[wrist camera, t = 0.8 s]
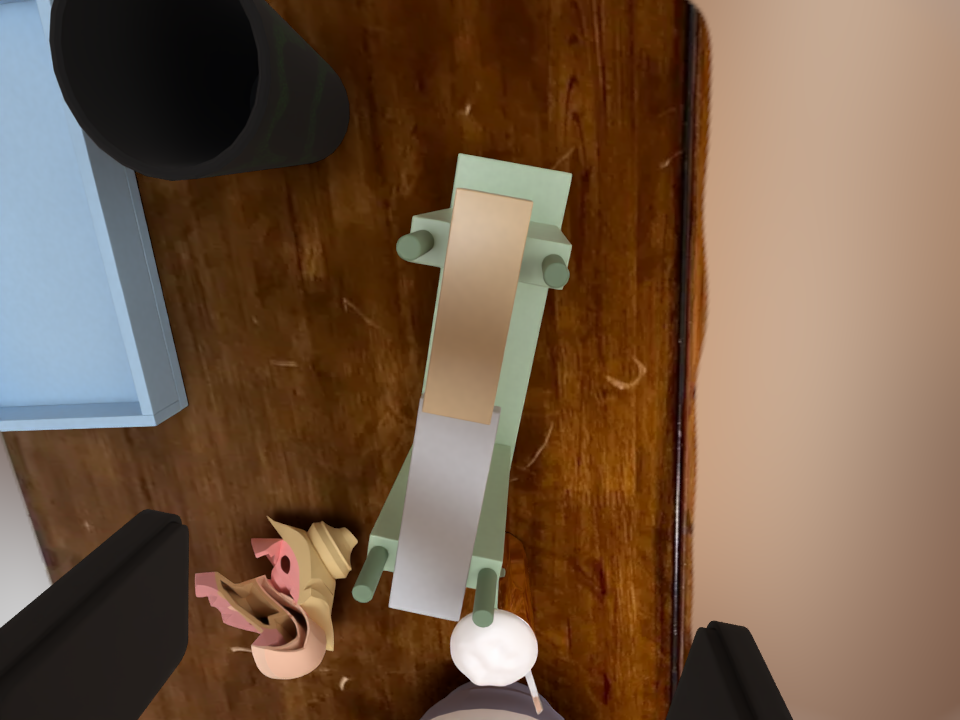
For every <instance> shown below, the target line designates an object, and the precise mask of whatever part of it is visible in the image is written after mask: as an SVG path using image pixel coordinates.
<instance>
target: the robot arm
mask: <svg viewBox="0 0 960 720" xmlns="http://www.w3.org/2000/svg"><path fill="white" fill-rule="evenodd" d="M188 567H189V531H188V527H187V526H186V525H182V522H181V519H180V517H179V516H178V515H175V514H170V513H165V512H160V511H155V510H149V509H147V510H143V511H142V512H140V513H139V514H137V515H136V516H135V517H134V518H133V519H131V520H130V521H129V522H128V523H126V524H125V525H124V526H123V527H122V528H120V529H119V530H118V531H117V532H116V533H114V534H113V535H112V536H111V537H110V538H108V539H107V540H106V541H105V542H104V543H102V544H101V545H100V546H99V547H98V548H96V549H95V550H94V551H93V552H91V553H90V554H89V555H88V556H87V557H85V558H84V559H83V560H82V561H81V562H79V563H78V564H77V565H76V566H75V567H73V568H72V569H71V570H70V571H69V572H67V573H66V574H65V575H64V576H63V577H61V578H60V579H59V580H58V581H56V582H55V583H54V584H53V585H52V586H50V587H49V588H48V589H47V590H46V591H44V592H43V593H42V594H41V595H40V596H38V597H37V598H36V599H35V600H34V601H32V602H31V603H30V604H29V605H28V606H26V607H25V608H24V609H23V610H21V611H20V612H19V613H18V614H17V615H15V616H14V617H13V618H12V619H11V620H10V621H8V622H7V623H6V624H5V625H3V626H2V627H1V628H0V720H138V718H139V717H140V716H141V714H142V713H143V712H144V710H145V709H146V708H147V706H148V705H149V703H150V702H151V701H152V699H153V698H154V697H155V695H156V694H157V693H158V691H159V690H160V689H161V687H162V686H163V685H164V683H165V682H166V681H167V679H168V678H169V677H170V675H171V674H172V672H173V671H174V670H175V668H176V667H177V666H178V664H179V663H180V661H181V660H182V658H183V656H184V654H185V651H186V648H187V644H188ZM666 720H793V719H792V717H791V714H790V713H789V710H788V708H787V707H786V704H785V702H784V700H783V698H782V696H781V694H780V692H779V690H778V688H777V686H776V684H775V682H774V680H773V678H772V676H771V674H770V671H769V670H768V668H767V665H766V663H765V661H764V659H763V657H762V655H761V653H760V651H759V649H758V647H757V645H756V643H755V641H754V639H753V637H752V635H751V633H750V631H749V630H748V629H747V628H746V627H743V626H738V625H733V624H728V623H723V622H718V621H711V622H710V623H709V624H708V626H707V628H703V627H700V628H699V629H698V630H697V632H696V635H695V637H694V640H693V643H692V646H691V649H690V652H689V655H688V658H687V660H686V663H685V666H684V669H683V672H682V675H681V678H680V681H679V683H678V686H677V689H676V692H675V695H674V698H673V701H672V704H671V706H670V709H669V712H668V715H667V718H666Z"/></svg>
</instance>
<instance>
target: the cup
mask: <svg viewBox="0 0 960 720" xmlns="http://www.w3.org/2000/svg"><path fill="white" fill-rule="evenodd" d="M49 44H50V50H51V57H52V63H53V70H54V73H55V76H56V79H57V82H58V84H59V87H60V90H61V93H62V95H63V98H64V101H65V102H66V104H67V106H68V107H69V109H70V111H71V112H72V114H73V116H74V117H75V119H76V121H77V122H78V124H79V126H80V127H81V128H82V129H83V130H84V132H85V133H86V134H87V135H88V136H89V137H90V138H91V139H92V141H93V142H94V143H95V144H96V145H97V146H98V147H99V148H100V149H101V150H102V151H104V152H105V153H106V154H108V155H109V156H110V157H112V158H113V159H115V160H116V161H117V162H119V163H120V164H121V165H123V166H125V167H127V168H130V169H132V170H134V171H136V172H139V173H141V174H143V175H145V176H149V177H154V178H160V179H165V180H171V181H175V180H187V179H198V178H206V177H213V176H221V175H228V174H235V173H243V172H250V171H258V170H265V169H273V168H280V167H287V166H295V165H302V164H310V163H314V162H317V161H320V160H323V159H325V158H326V157H327V156H329V155H330V154H332V153H333V152H334V151H335V150H336V148H337V147H338V146H339V145H340V144H341V142H342V140H343V138H344V136H345V134H346V132H347V127H348V123H349V101H348V97H347V93H346V90H345V88H344V86H343V84H342V81H341V79H340V78H339V76H338V75H337V74H336V73H335V71H334V70H333V69H332V67H331V66H330V65H329V64H328V63H327V62H326V61H325V60H324V59H323V58H322V57H321V56H320V55H319V54H318V53H317V52H316V51H315V50H314V49H313V48H312V47H311V46H310V45H309V44H308V43H307V42H306V41H305V40H304V39H303V38H302V37H301V36H300V35H299V34H298V33H297V32H296V31H295V30H294V29H293V28H292V27H291V26H290V25H289V24H288V23H287V22H286V21H285V20H284V19H283V18H282V17H281V16H280V15H279V14H278V13H277V12H276V11H275V10H274V9H273V8H272V7H271V6H270V5H269V4H268V3H267V2H266V1H265V0H54V1H53V4H52V8H51V13H50V32H49Z"/></svg>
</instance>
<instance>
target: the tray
mask: <svg viewBox="0 0 960 720" xmlns="http://www.w3.org/2000/svg"><path fill="white" fill-rule="evenodd" d="M53 1H54V0H0V431H26V430H55V429H84V428H112V427H141V426H157V425H158V424H160V423H162V422H163V421H165V420H166V419H168V418H170V417H171V416H173V415H174V414H176V413H178V412H179V411H181V410H182V409H184V408H185V407H187V406H188V402H187V397H186V393H185V389H184V384H183V380H182V376H181V371H180V367H179V363H178V358H177V354H176V350H175V345H174V341H173V337H172V332H171V328H170V324H169V319H168V315H167V311H166V307H165V302H164V298H163V294H162V289H161V285H160V281H159V276H158V272H157V268H156V263H155V259H154V255H153V250H152V246H151V242H150V237H149V233H148V229H147V224H146V220H145V216H144V211H143V207H142V203H141V198H140V194H139V190H138V185H137V181H136V177H135V172H134V170H132V169H130V168H127V167H125V166H123V165H121V164H120V163H119V162H117V161H116V160H115V159H113V158H112V157H110V156H109V155H108V154H106V153H105V152H104V151H102V150H101V149H100V148H99V147H98V146H97V145H96V144H95V143H94V142H93V141H92V139H91V138H90V137H89V136H88V135H87V134H86V133H85V132H84V130H83V129H82V128H81V127H80V126H79V124H78V122H77V121H76V119H75V117H74V116H73V114H72V112H71V111H70V109H69V107H68V106H67V104H66V102H65V101H64V98H63V95H62V93H61V90H60V87H59V84H58V82H57V79H56V76H55V73H54V70H53V63H52V57H51V50H50V44H49V32H50V13H51V8H52V4H53Z"/></svg>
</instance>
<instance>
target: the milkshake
mask: <svg viewBox="0 0 960 720" xmlns="http://www.w3.org/2000/svg"><path fill="white" fill-rule="evenodd" d="M475 592H476V589H473V588H468V587H467V588H466V591H465V595H464V599H463V604H462V609H461V614H460V619H459V621H458V622H457V621H456V623H455V626H454V629H453V632H452V636H451V641H450V650H451V656H452V659H453V662H454V664H455V665H456V667H457V668H458V669H459V670H460V671H461V672H462V673H463V674H464V675H465V676H466V677H467V678H469V679H470V680H471V681H472V682H473V683H474V684H476V685H479V686H487V685H492V686H506V685H509V684H512V683H514V682H516V681H517V680H519V679H521V678H522V677H524V676H525V677H526V680H527V683H528V687H529V690H530V693H531V696H532V699H533V703H534V706H535V709H536V712H537V714H538V715H539V714H540V713H541V712H542V711H543V706H542V703H541V700H540V697H539V694H538V691H537V688H536V685H535V681H534V678H533V675H532V672H531V668H532V667H533V665H534V664H535V662H536V659H537V654H538V645H537V638H536V631H535V624H534V617H533V611H532V603H531V593H530V583H529V573H528V563H527V556H526V552H525V549H524V546H523V543H522V542H521V541H520V540H518V539H517V538H516V537H514V536H513V535H511V534H510V533H505V539H504V552H503V563H502V568H501V572H500V577H499V581H498V586H497V591H496V596H495V607H494V619H493V622H492V624H491V625H490V626H488V627H484V628H483V627H478V626H477V625H475V624H474V622H473V620H472V614H473V607H474V600H475Z"/></svg>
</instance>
